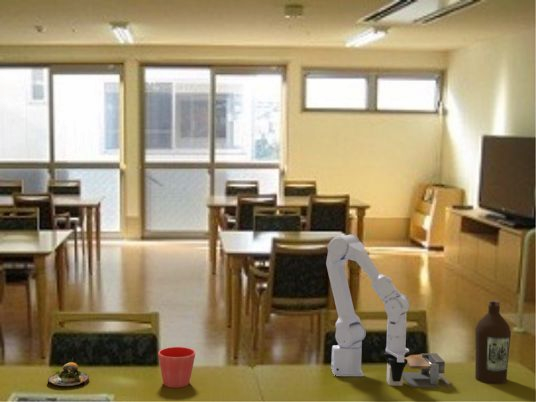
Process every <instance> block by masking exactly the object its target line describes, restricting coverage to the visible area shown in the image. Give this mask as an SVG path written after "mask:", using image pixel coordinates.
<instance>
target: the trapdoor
mask: <svg viewBox="0 0 536 402" xmlns="http://www.w3.org/2000/svg"><path fill="white" fill-rule="evenodd" d="M428 354H429V355H428V360H429V361H430V362H431V363H432V364H439V373H441V374H445V366H446V361H445V360H444V359H443V358H442V357H441V356H440V355H439V354H438V353H431V352H429V353H428ZM404 359H407V364H406V365H407V366H408V367H409V369H416V370H417V369H419V370H421V369H429V370H430V364H429V363H428V362H427V361H426V360H425V358H422V357H408V356H406V357H405V356H404Z"/></svg>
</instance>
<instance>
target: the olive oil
mask: <svg viewBox="0 0 536 402" xmlns="http://www.w3.org/2000/svg"><path fill="white" fill-rule="evenodd" d="M488 303H489V304H488V306H487V307H488V308H487V309H488V310H487V311H488V312H486V314H485V315H484V316H483V317H482V318H480V320H478V321H477V324H476V326H475V329H474V330H475V333H474V336H475V337H474V339H475V341H474V342H475V344H474V345H475V347H474V348H475V350H474V351H475V366H474V367H475V369H474V371H475V379H476V380H477V381H479V382H482V383H484V384H490V385H503V384H505V383H506V382H507V381H508V367H509V358H510V357H509V356H510V346H511V345H510V344H511V336H512V335H511V333H512V331H511V328H510V325H509V323H508V322H507V321H506V320H505V318H504V317H503V316H502V314H501V312H500V308H501V306H500V303H501V302H500V301H499V300H496V299H495V300H493V299H491V300H489V301H488Z"/></svg>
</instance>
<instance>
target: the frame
mask: <svg viewBox="0 0 536 402" xmlns="http://www.w3.org/2000/svg"><path fill="white" fill-rule="evenodd" d="M420 355H421V357H422V358H425V360H426V361H427V362H428V363H429V364H430V369H420V372H421V374H430V382H429V384H430V385H439V380H440V381H441V382H442V383H443V384H444V385H445V387H447V388H448V387H449V388H450V387H451V383H450V381H449V380H448V379H447V377H445V376H444V375H443V373H439V364H432V363H431V362H430V361H429V360H428V355H429V353H420Z"/></svg>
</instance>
